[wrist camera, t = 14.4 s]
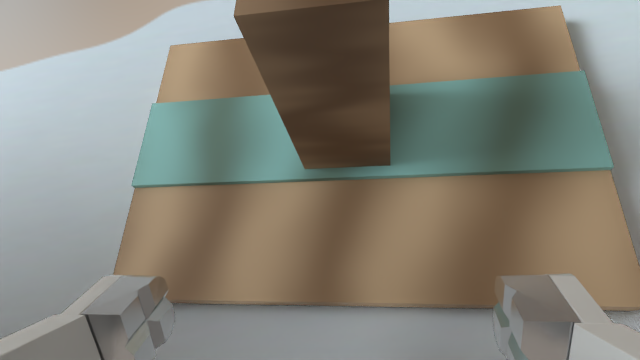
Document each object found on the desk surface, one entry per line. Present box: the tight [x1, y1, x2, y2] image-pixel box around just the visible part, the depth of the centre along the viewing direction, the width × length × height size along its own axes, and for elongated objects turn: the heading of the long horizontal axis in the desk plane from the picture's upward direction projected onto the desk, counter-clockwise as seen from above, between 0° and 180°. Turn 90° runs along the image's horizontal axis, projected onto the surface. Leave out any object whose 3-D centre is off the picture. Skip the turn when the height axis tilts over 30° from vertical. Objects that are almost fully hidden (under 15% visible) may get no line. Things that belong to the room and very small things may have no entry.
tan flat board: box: [113, 6, 640, 311], centre depth 19 cm, size 22×15×2 cm
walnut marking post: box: [234, 0, 390, 169], centre depth 14 cm, size 4×4×10 cm
